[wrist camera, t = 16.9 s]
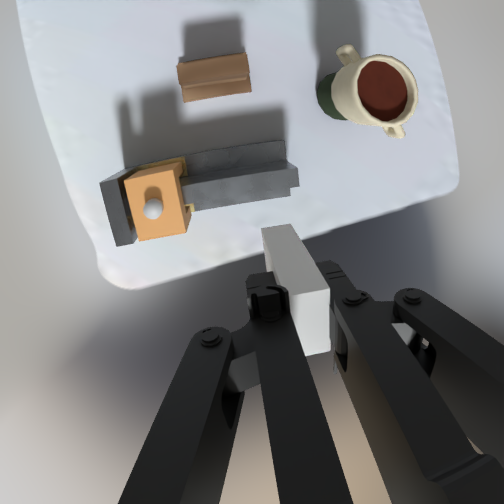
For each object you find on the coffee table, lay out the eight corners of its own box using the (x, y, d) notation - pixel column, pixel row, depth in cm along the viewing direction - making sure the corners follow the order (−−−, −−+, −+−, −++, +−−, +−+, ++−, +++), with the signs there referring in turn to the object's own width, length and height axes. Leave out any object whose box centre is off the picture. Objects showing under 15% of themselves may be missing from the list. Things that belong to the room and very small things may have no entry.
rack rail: (124, 168, 37) (99, 182, 29) (282, 140, 37) (299, 145, 29) (136, 220, 40) (116, 246, 32) (289, 194, 40) (306, 214, 32)
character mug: (380, 118, 37) (438, 123, 25) (340, 145, 38) (388, 159, 26) (336, 49, 33) (382, 25, 21) (292, 75, 34) (324, 56, 22)
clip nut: (139, 170, 34) (120, 183, 27) (180, 161, 34) (170, 171, 28) (151, 222, 37) (136, 245, 30) (191, 215, 37) (184, 237, 30)
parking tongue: (178, 64, 33) (169, 53, 26) (245, 54, 33) (249, 40, 26) (184, 102, 35) (176, 98, 28) (250, 91, 35) (256, 85, 28)
